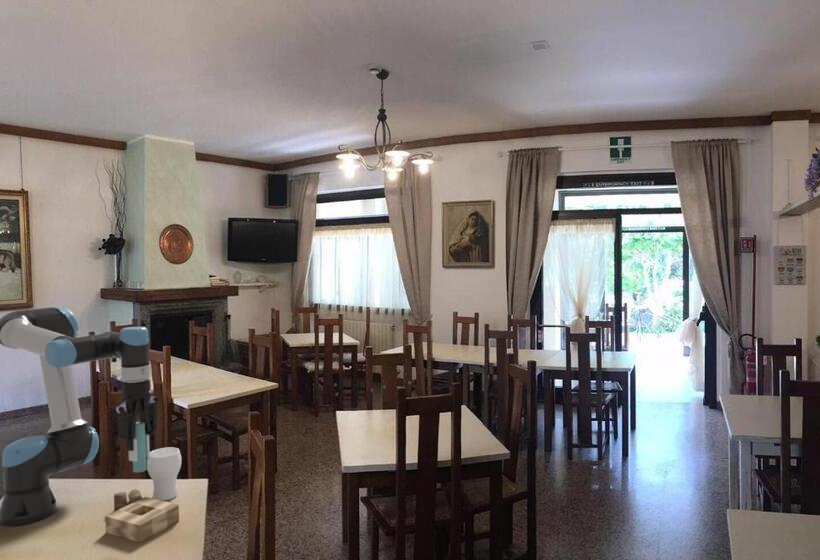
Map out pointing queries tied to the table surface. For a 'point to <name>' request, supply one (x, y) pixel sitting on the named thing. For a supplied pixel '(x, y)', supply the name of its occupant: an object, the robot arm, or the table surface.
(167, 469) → the cup
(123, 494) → the pin short
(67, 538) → the table surface
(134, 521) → the hole block
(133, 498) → the pin medium
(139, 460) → the pin long
